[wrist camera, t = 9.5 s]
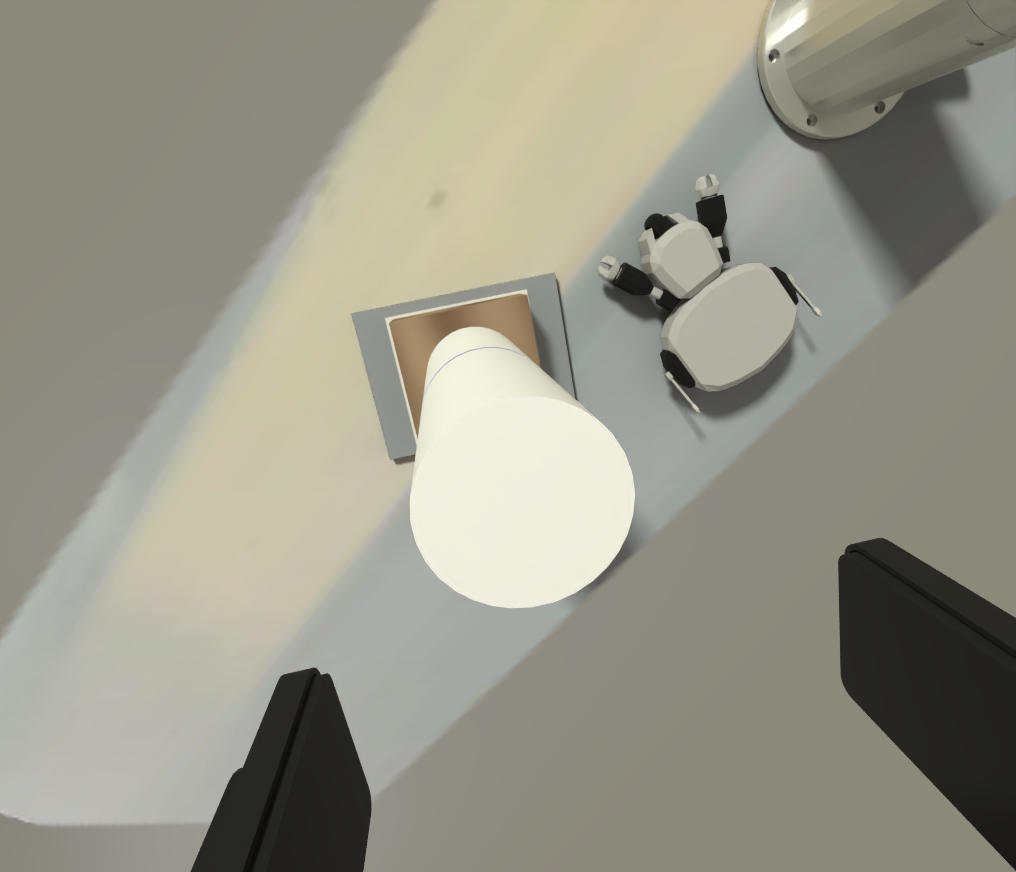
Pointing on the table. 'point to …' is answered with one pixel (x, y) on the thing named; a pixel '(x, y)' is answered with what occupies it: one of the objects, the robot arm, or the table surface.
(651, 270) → the robot toy
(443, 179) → the table surface
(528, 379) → the cylindrical container
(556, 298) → the plate
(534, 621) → the table surface
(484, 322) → the plinth
